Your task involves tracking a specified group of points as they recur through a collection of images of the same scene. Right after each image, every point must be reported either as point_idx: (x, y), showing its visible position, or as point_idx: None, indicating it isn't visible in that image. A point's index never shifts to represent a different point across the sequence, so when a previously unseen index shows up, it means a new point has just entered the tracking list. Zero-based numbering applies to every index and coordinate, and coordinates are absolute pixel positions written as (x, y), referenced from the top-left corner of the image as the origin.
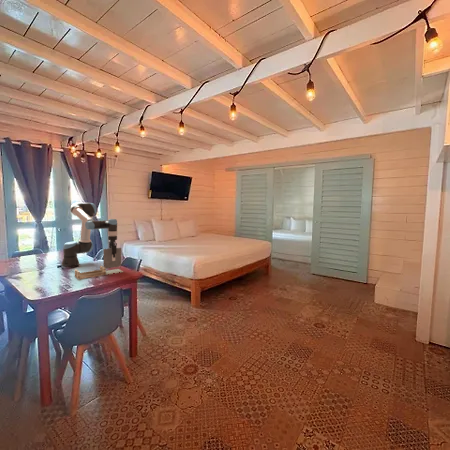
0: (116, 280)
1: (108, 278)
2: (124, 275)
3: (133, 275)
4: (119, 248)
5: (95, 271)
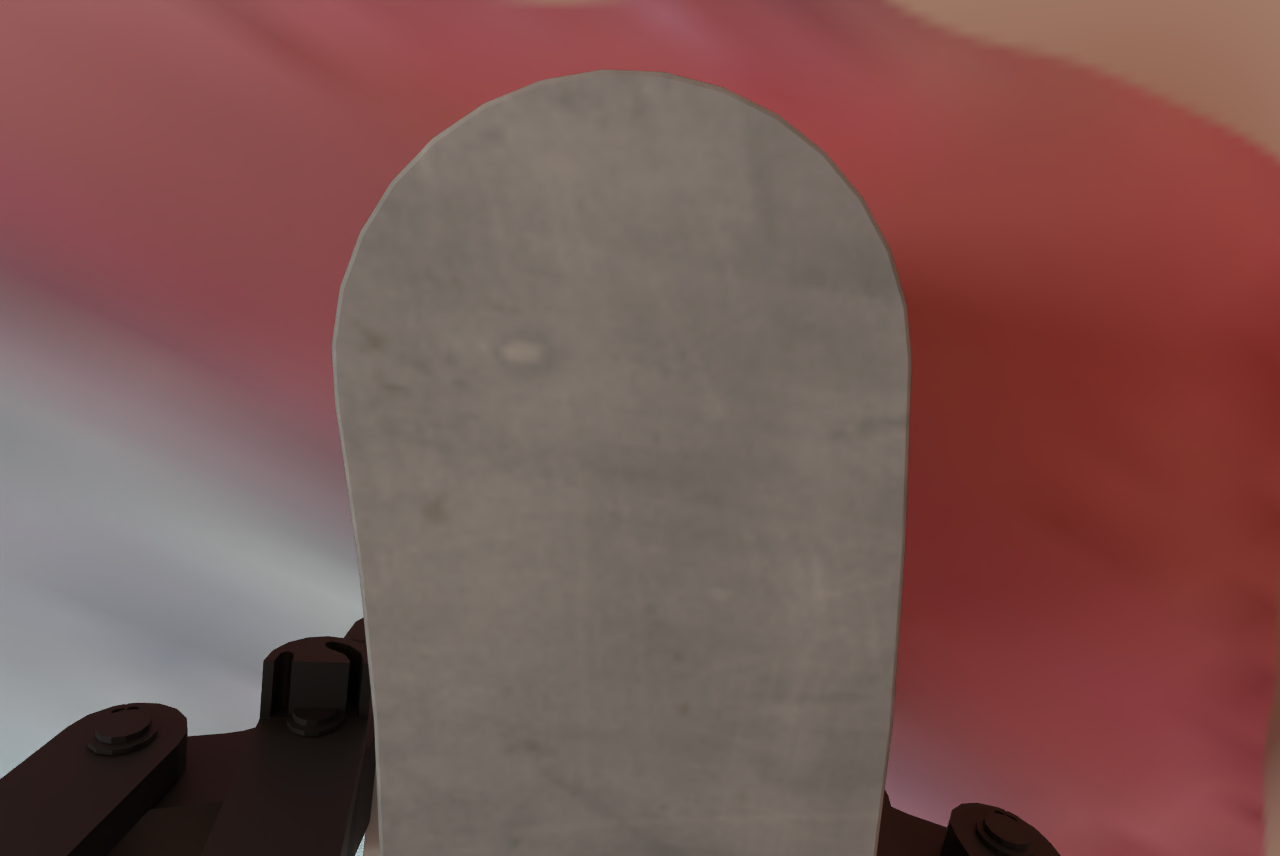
0: (1223, 720)
1: (984, 758)
2: (1070, 431)
3: (1243, 287)
4: (894, 534)
5: None
